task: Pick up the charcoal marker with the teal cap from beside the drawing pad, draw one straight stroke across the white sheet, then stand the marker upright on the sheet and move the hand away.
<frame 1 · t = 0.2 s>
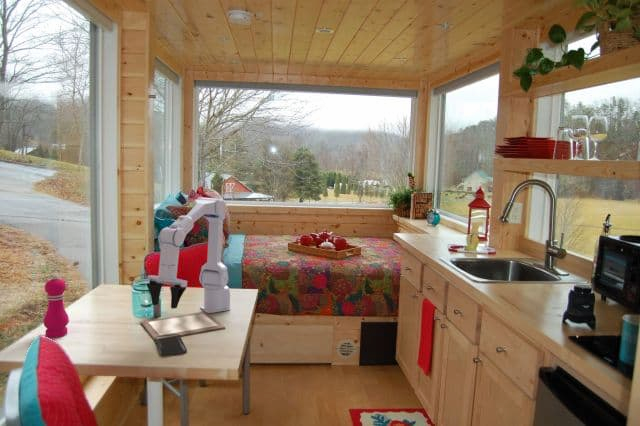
hand: (164, 306, 159), 10 cm above the table, tool pointing down, fingers open, 7 cm apart
drawing pad: (182, 326, 171), on the table
marker: (157, 316, 179), on the table
phone: (170, 347, 153), on the table
pepper mill: (56, 335, 158), on the table
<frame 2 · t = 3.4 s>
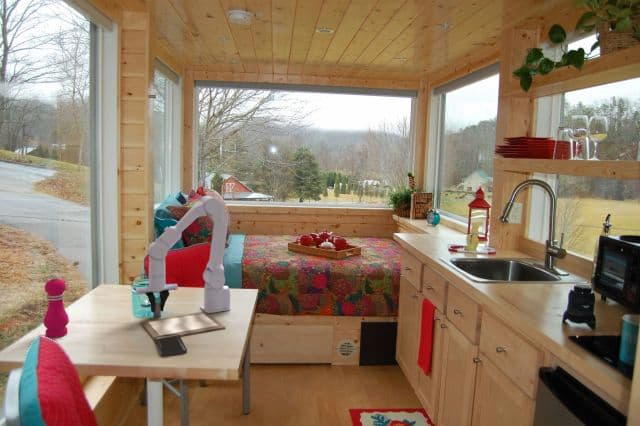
hand: (157, 311, 179), 2 cm above the table, tool pointing down, fingers closed on marker, 3 cm apart
marker: (157, 316, 179), on the table, touching gripper
everything else where it was.
when the fingers open (4 cm above the table, at t = 11.7 s): marker stays where it is, resting on drawing pad.
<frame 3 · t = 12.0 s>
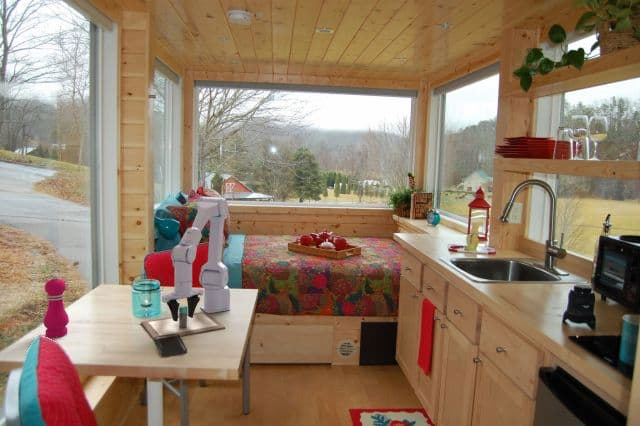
hand: (183, 318, 167), 4 cm above the table, tool pointing down, fingers open, 5 cm apart
marker: (183, 327, 167), point 1 cm above the table, touching drawing pad
everything else where it was.
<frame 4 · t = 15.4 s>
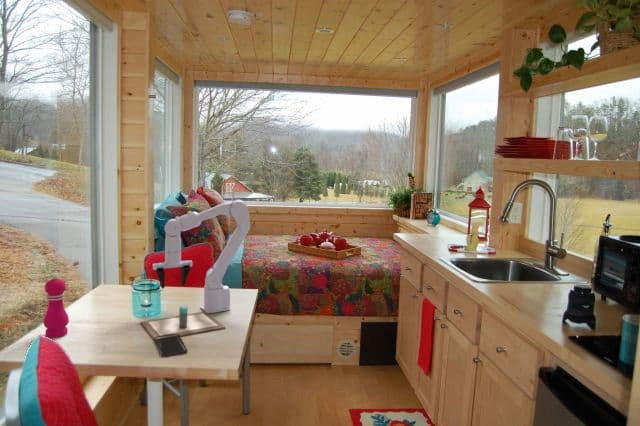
hand: (172, 286, 185), 9 cm above the table, tool pointing down, fingers open, 7 cm apart
nothing on the table moved.
at the end: marker inside the target area (0.1 cm from its centre), point 0.8 cm above the table; marker tilted 2°; the gripper is holding nothing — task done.
